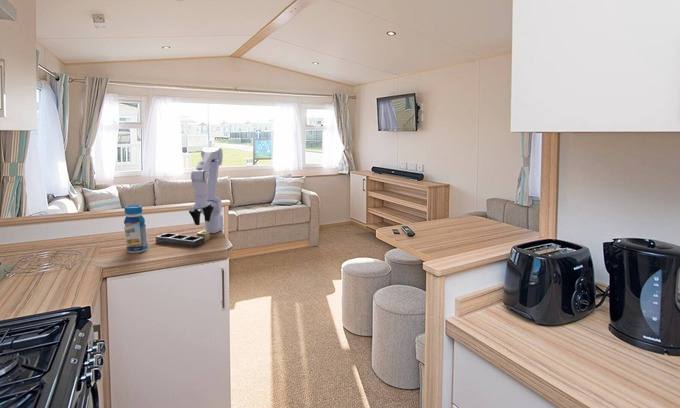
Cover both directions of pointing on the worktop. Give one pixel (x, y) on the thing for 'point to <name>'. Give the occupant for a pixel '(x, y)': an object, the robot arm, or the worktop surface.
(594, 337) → the worktop surface
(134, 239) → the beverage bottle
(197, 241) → the cabinet frame
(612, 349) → the worktop surface
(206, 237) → the wooden knob block
